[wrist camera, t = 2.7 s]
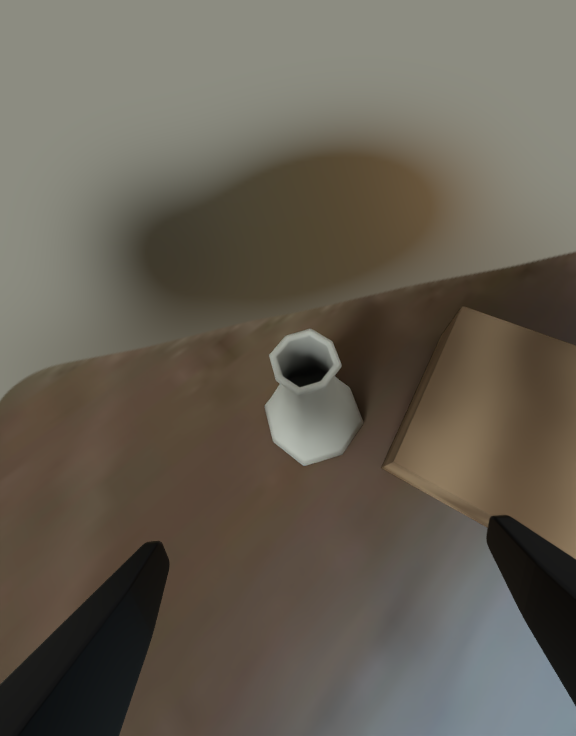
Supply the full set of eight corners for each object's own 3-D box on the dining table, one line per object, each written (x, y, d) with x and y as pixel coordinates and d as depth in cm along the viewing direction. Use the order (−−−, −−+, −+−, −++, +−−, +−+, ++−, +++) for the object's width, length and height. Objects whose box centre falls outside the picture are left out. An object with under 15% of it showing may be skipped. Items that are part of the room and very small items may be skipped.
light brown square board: (615, 402, 20) (679, 382, 16) (579, 579, 17) (651, 602, 13) (441, 335, 24) (462, 305, 20) (381, 468, 20) (393, 461, 17)
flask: (322, 356, 24) (321, 272, 15) (381, 426, 21) (422, 374, 12) (249, 404, 23) (202, 346, 14) (300, 485, 20) (281, 476, 11)
